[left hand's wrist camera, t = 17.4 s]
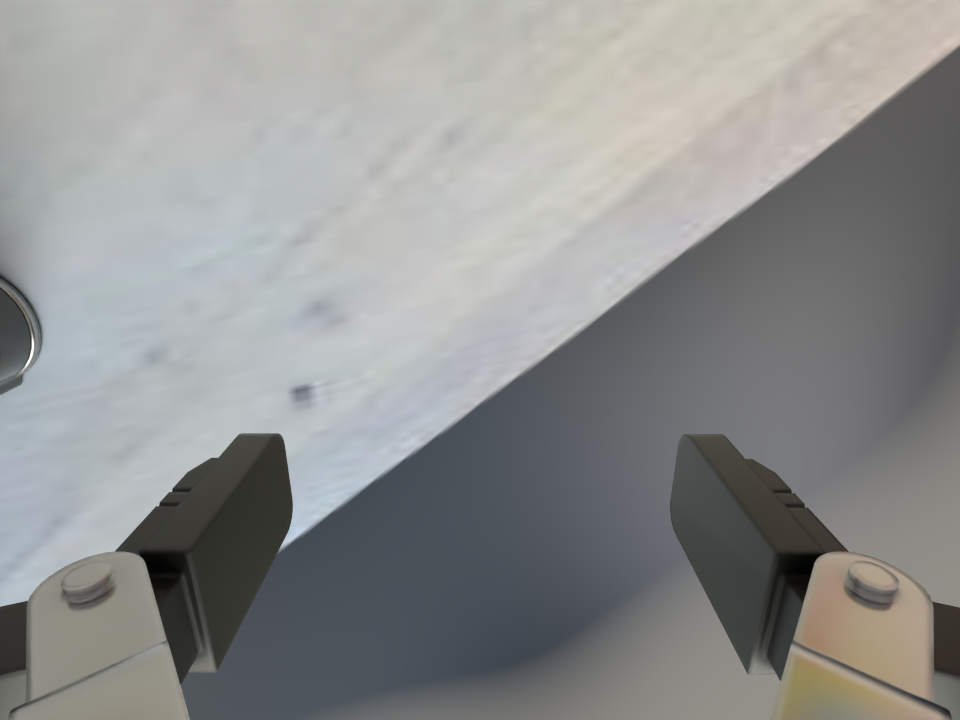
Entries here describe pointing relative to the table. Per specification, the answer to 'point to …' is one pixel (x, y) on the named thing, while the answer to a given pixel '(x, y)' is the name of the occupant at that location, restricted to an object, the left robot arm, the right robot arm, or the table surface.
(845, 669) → the left robot arm
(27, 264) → the table surface
